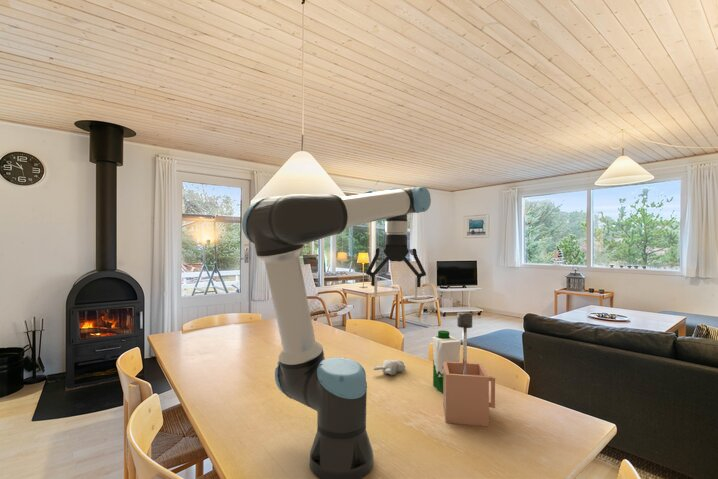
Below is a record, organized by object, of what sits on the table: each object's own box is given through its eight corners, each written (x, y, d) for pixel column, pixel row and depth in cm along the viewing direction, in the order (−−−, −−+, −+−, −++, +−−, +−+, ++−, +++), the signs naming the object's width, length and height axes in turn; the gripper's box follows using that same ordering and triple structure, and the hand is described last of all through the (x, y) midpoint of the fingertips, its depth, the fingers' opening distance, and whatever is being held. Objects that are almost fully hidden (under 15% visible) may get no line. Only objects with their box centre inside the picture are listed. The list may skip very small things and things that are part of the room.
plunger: (482, 391, 105) (482, 316, 105) (451, 389, 107) (451, 315, 107) (477, 380, 114) (477, 311, 114) (448, 378, 115) (449, 310, 116)
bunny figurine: (410, 360, 148) (392, 366, 136) (409, 373, 148) (391, 380, 136) (390, 356, 154) (371, 361, 142) (389, 368, 153) (370, 374, 141)
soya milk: (450, 382, 135) (451, 329, 135) (464, 392, 126) (464, 335, 127) (429, 385, 133) (429, 330, 133) (441, 395, 124) (441, 337, 124)
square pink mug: (498, 427, 103) (499, 378, 103) (445, 422, 105) (446, 374, 105) (490, 408, 115) (490, 364, 115) (443, 404, 117) (443, 361, 117)
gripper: (432, 234, 126) (431, 295, 125) (361, 234, 128) (360, 293, 128) (434, 234, 118) (433, 298, 118) (358, 233, 121) (358, 296, 121)
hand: (395, 296), depth 123 cm, fingers open, 13 cm apart
